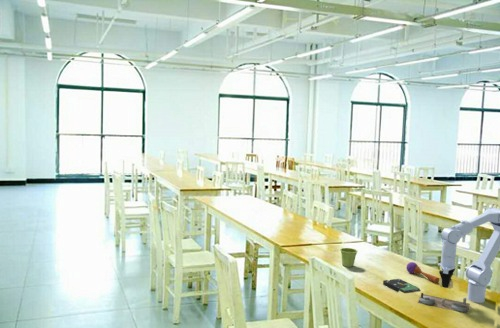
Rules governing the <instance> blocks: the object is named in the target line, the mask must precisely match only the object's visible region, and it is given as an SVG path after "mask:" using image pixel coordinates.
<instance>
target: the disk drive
mask: <svg viewBox="0 0 500 328" xmlns="http://www.w3.org/2000/svg"><path fill="white" fill-rule="evenodd" d="M382 284H383V286H385V287H386V286H387V288H389V289H391V290H392V291H395V292H396V293H399V292H401V293H404V294H405V293H413V292H419V291H421V289H420V287H418V286H416V285H414V284H412V283H409V282H407V281H406V280H403V279H401V278H395V279H389V280H388V279H386V280H383V281H382Z"/></svg>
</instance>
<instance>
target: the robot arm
mask: <svg viewBox="0 0 500 328" xmlns="http://www.w3.org/2000/svg"><path fill="white" fill-rule="evenodd" d="M486 223H490V224H491V226H492V227H493V232H492V233H491V235H490V238H488V241H487V243H486V245H485V246H484V248H483V251H482V252H481V253H480V256H479V257H478V259H477V260H475V261H472V263H471V264H470V265H469V266H468V267H467V268H466V270H465V276H466V277H465V278H467V281H468V285H467V295H466V300H468V301H470V302H473V303H477V304H483V303H485V302H486V301H485V300H486V290H487V286H488V285H489V283H490V282H491V280H492V279H491V278H492V275H493V269H492V268H491V266H492V264H493V262H494V261H495V259H496V257H497V255H498V253H499V251H500V208H497V207H493V206H492V207H489V208H487V209H485V210H484V212H482V213H481V214H479V215H477V216H476V217H474V218H472V219H470V220H469V221H468V220H460V222H459V223H457V224H455V225H451V226H450V227H445V228H444V229H443V230H442V231H441V233H439V234H440V235H439V236H440V238H441V243H442V247H441V257H440V258H441V259H440V263H439V262H438V263H437V266H438V267H441V270H439V272H438V273H439V276H440V278H441V279H442V286H443V287H442V288H444V287H445V288H444V289H449V288H448V286H449V282H450V279H452V277H453V275H454V272H455V270H456V257H457V255H456V254H457V245H458V243H459V242H460V240H461V239H462V238H463V237H465V236H467V235H469V234H471V233H472V232H473V231H474V229H475V228H476V227H479V226H482V225H484V224H486Z"/></svg>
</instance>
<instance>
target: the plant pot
mask: <svg viewBox="0 0 500 328" xmlns="http://www.w3.org/2000/svg"><path fill="white" fill-rule="evenodd" d="M340 253H341V254H340V255H341V262H342V263H341V264H342V266H344V267H346V268H351V267H354V266H355V261H356V256H357V253H358V250H357V249H355V248H349V247H342V248H340Z"/></svg>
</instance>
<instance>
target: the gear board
mask: <svg viewBox="0 0 500 328" xmlns="http://www.w3.org/2000/svg"><path fill="white" fill-rule="evenodd" d="M418 297H419V299H418V301H417V304H421V305H424V306H431V307H435V308H439V309H444V310H449V311H453V312H458V313H462V314H469V309H470V303H468V302H467V297H463V298H462V301H459V300H454V299H449V298H444V297H439V296H434V295H429V294H425V293H424V292H421V293H420V296H418Z"/></svg>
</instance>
